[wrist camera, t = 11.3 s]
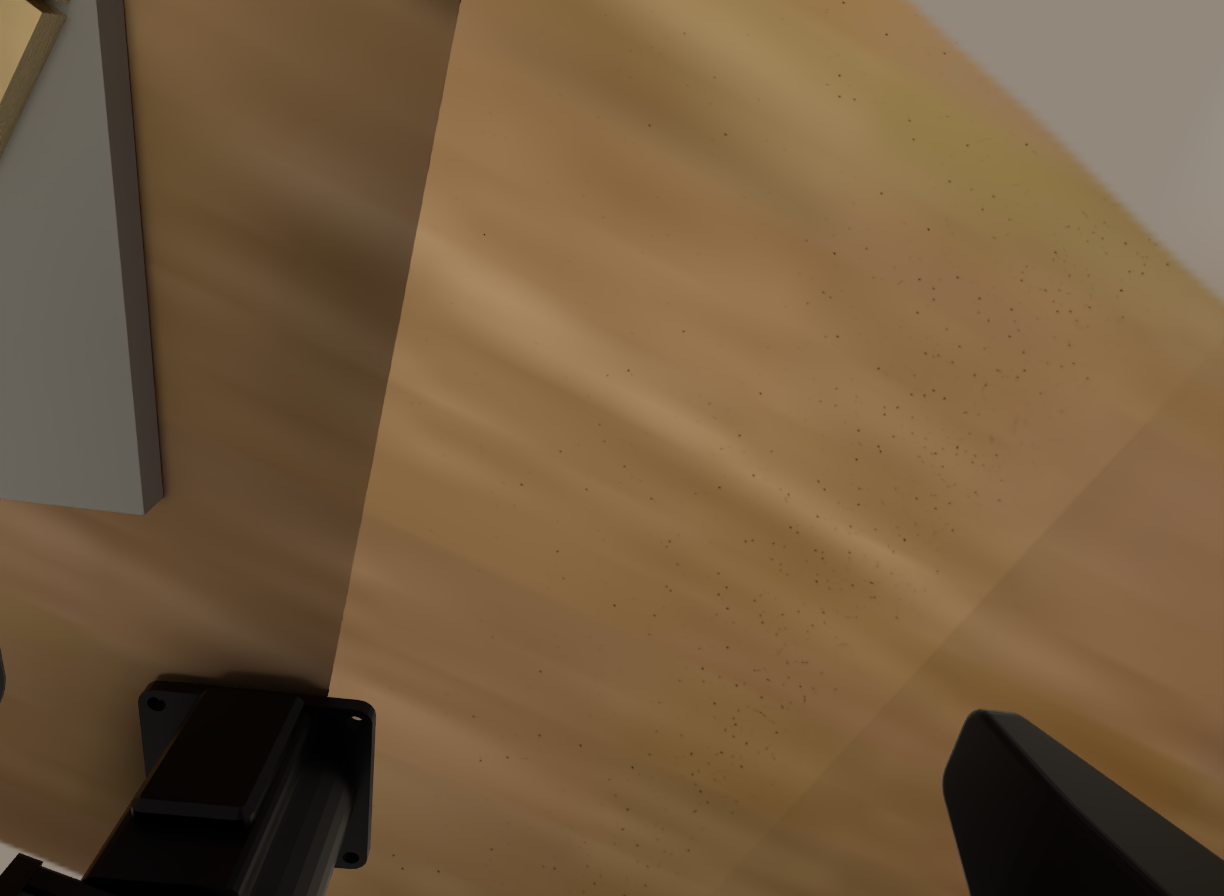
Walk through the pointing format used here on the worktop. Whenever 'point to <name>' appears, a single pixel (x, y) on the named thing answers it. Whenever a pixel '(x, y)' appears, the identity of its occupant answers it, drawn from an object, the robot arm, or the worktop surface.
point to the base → (76, 283)
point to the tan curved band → (23, 54)
